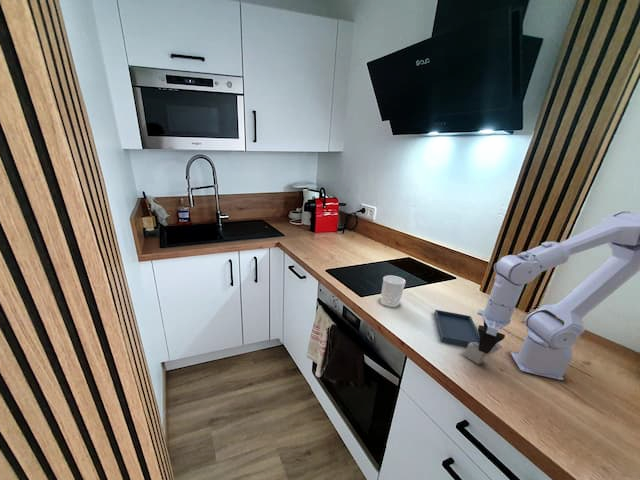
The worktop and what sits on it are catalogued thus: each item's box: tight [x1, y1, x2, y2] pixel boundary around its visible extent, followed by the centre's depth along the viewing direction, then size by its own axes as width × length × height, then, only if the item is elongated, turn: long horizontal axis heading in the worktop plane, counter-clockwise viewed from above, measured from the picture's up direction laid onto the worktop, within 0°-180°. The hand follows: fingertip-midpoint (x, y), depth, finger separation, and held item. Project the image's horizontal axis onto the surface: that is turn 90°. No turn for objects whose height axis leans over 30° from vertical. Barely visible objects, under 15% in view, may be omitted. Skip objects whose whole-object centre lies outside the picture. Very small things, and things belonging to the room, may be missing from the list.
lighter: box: [463, 342, 503, 365], centre depth 79 cm, size 7×2×8 cm, turn 31°
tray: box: [433, 309, 480, 348], centre depth 94 cm, size 11×17×2 cm, turn 160°
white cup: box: [380, 274, 406, 308], centre depth 108 cm, size 8×8×10 cm
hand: (485, 344), depth 78 cm, fingers open, 7 cm apart
